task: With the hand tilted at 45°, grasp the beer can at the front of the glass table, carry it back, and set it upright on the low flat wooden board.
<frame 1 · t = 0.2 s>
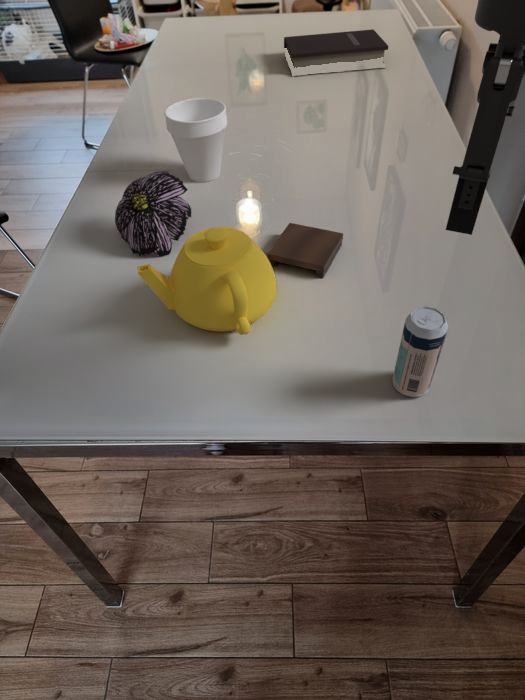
hand: (468, 199, 57), 21 cm above the table, tool pointing down, fingers open, 13 cm apart
flat wooden board: (305, 255, 86), on the table
decorative flower: (156, 237, 93), on the table
book: (332, 62, 154), on the table
cup: (204, 175, 108), on the table
teapot: (216, 310, 78), on the table
beer can: (410, 385, 66), on the table
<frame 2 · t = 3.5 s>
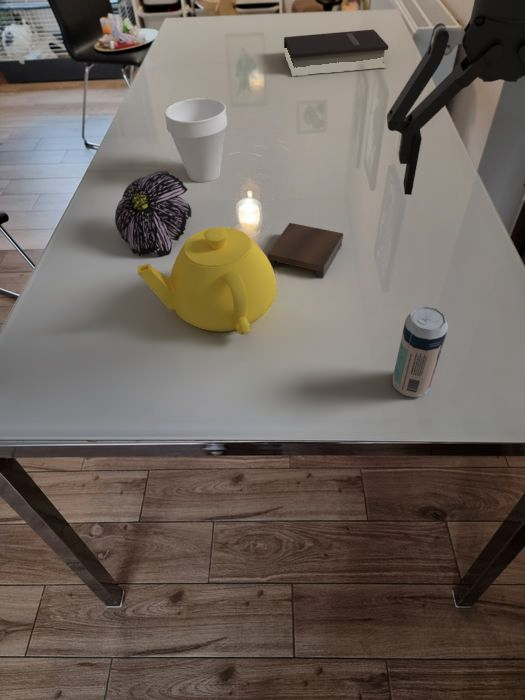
hand: (467, 190, 58), 21 cm above the table, tool pointing down, fingers open, 13 cm apart
nothing on the table moved.
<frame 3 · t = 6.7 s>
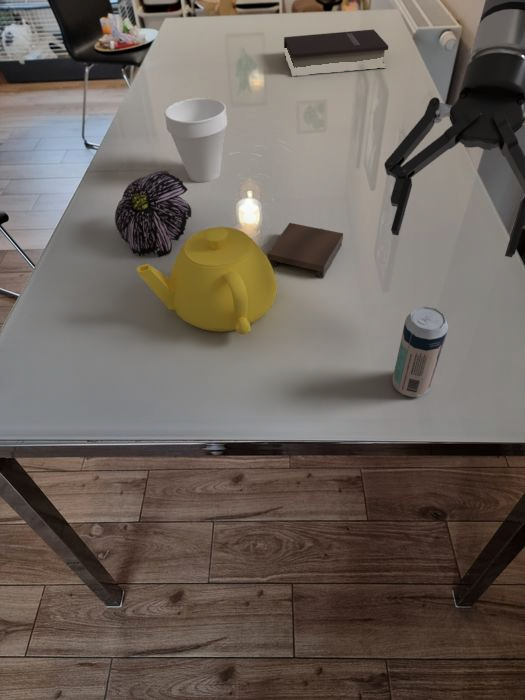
hand: (450, 243, 61), 15 cm above the table, tool tilted 45°, fingers open, 13 cm apart
nothing on the table moved.
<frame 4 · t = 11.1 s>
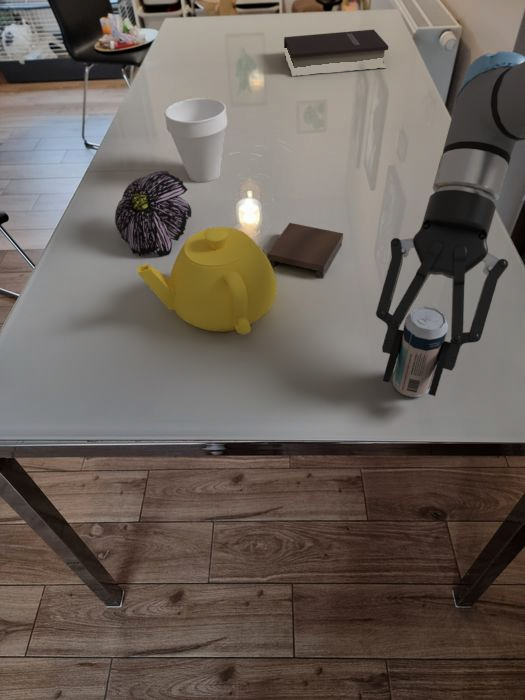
hand: (408, 387, 60), 4 cm above the table, tool tilted 45°, fingers closed on beer can, 5 cm apart
beer can: (410, 385, 66), on the table, touching gripper
everything else where it was.
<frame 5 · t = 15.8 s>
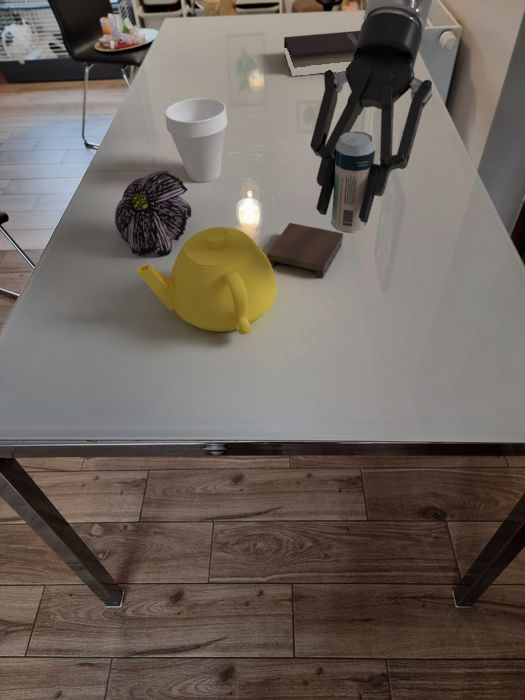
hand: (341, 215, 63), 17 cm above the table, tool tilted 45°, fingers closed on beer can, 5 cm apart
beer can: (348, 226, 68), point 13 cm above the table, touching gripper
everything else where it was.
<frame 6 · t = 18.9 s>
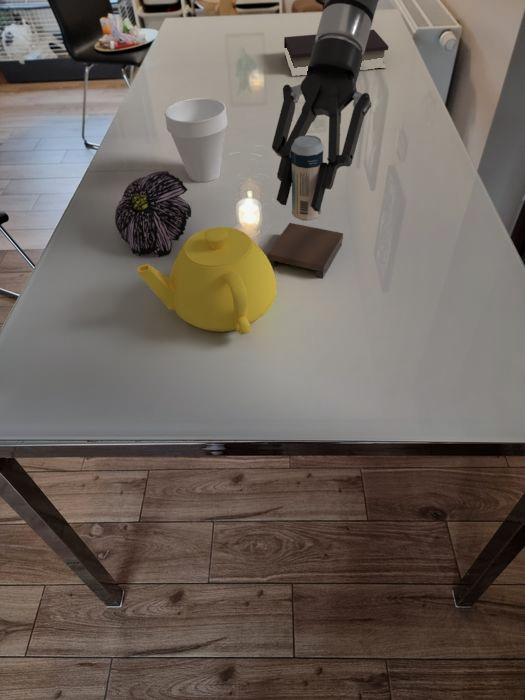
hand: (298, 205, 75), 12 cm above the table, tool tilted 45°, fingers closed on beer can, 5 cm apart
beer can: (306, 215, 81), point 8 cm above the table, touching gripper
everything else where it was.
when the fingers open (6 cm above the table, at t = 20.8 s): beer can stays where it is, resting on flat wooden board.
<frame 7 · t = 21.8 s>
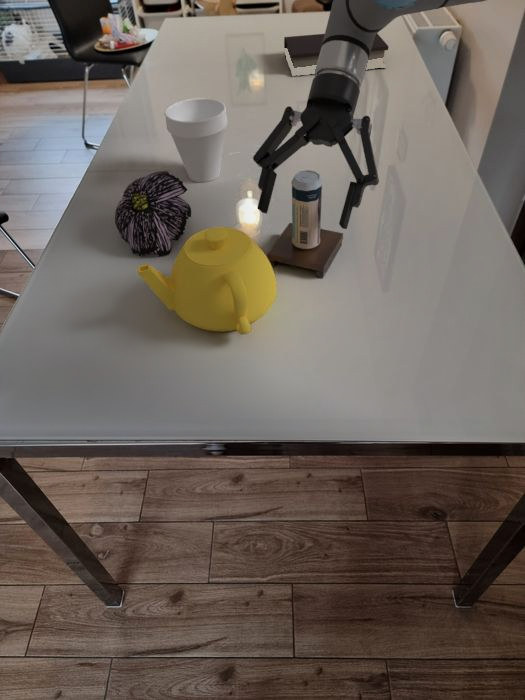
hand: (301, 218, 79), 9 cm above the table, tool tilted 45°, fingers open, 13 cm apart
beer can: (306, 243, 85), point 2 cm above the table, touching flat wooden board
everything else where it was.
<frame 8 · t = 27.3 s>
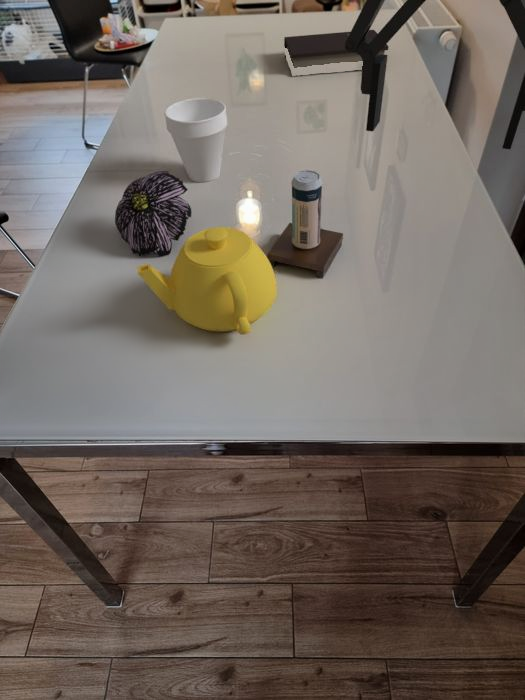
hand: (437, 134, 51), 29 cm above the table, tool pointing down, fingers open, 13 cm apart
nothing on the table moved.
at the end: beer can inside the target area on the flat wooden board (0.1 cm from its centre), point 2.3 cm above the flat wooden board's base; beer can tilted 0°; the gripper is holding nothing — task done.
